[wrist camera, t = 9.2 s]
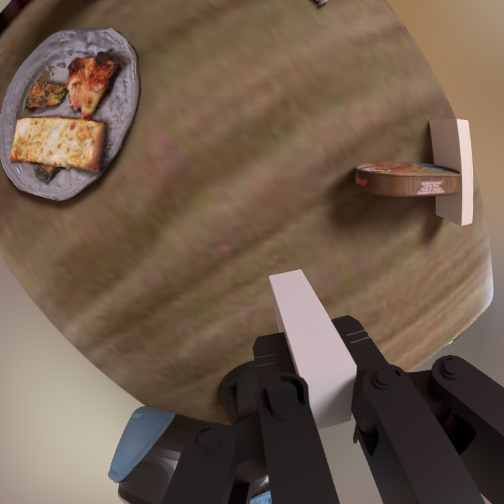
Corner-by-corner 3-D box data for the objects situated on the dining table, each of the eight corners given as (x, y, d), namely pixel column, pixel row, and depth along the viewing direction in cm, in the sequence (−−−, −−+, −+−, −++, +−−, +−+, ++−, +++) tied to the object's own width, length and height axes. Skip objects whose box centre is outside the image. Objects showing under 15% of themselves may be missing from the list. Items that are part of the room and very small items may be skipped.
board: (446, 212, 33) (472, 223, 28) (435, 214, 33) (461, 225, 28) (440, 120, 28) (467, 120, 23) (428, 120, 28) (456, 119, 23)
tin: (433, 163, 31) (473, 170, 23) (433, 184, 32) (473, 195, 24) (342, 163, 30) (376, 168, 23) (344, 188, 32) (376, 201, 24)
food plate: (173, 36, 23) (165, 25, 20) (116, 214, 31) (103, 221, 27) (36, 37, 20) (23, 33, 16) (-1, 176, 27) (-15, 180, 24)
